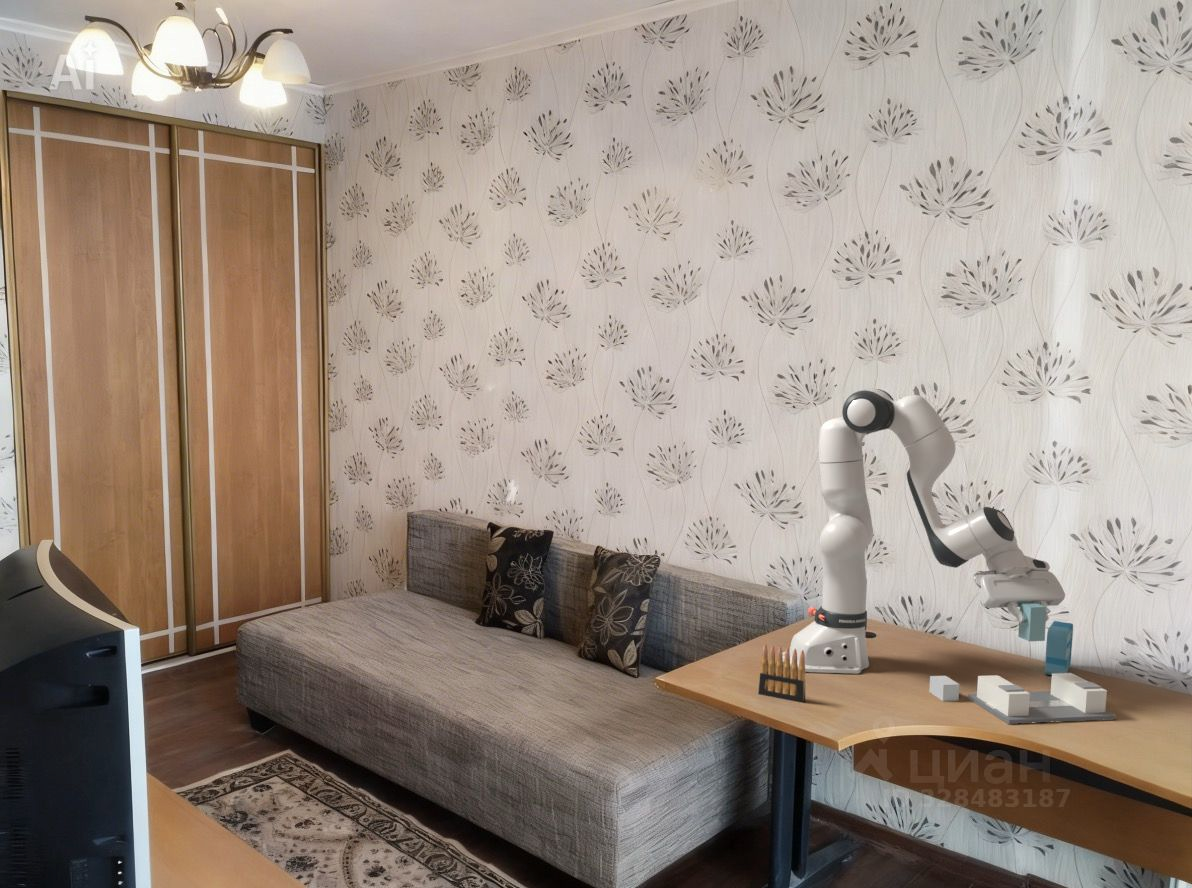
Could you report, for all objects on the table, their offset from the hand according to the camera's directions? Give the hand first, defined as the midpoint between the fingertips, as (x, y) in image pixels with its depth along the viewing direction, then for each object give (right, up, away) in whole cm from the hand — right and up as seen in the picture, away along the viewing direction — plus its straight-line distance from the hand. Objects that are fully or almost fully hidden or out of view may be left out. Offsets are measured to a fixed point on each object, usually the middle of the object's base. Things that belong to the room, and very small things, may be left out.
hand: (1034, 621), depth 215 cm
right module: (+9, -20, -2) cm, 22 cm away
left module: (-10, -19, -5) cm, 22 cm away
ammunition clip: (-59, -18, 0) cm, 61 cm away
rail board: (0, -19, -3) cm, 20 cm away
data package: (+17, -18, +24) cm, 35 cm away
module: (0, -4, +1) cm, 4 cm away
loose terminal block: (-20, -19, +3) cm, 27 cm away
